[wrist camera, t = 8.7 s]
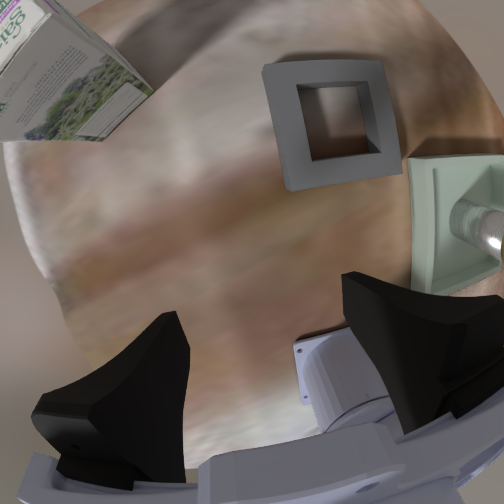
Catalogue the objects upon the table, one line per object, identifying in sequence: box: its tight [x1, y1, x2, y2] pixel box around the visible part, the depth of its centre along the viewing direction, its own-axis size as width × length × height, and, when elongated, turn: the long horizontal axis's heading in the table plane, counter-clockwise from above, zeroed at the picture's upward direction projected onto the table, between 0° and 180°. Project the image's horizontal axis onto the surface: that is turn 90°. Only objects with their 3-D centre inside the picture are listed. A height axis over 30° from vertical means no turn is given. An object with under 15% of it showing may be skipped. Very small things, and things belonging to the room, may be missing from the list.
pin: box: [449, 199, 504, 262], centre depth 18 cm, size 4×4×8 cm
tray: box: [407, 153, 504, 296], centre depth 21 cm, size 13×13×2 cm
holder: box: [262, 59, 403, 192], centre depth 18 cm, size 9×9×2 cm
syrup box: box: [0, 0, 154, 142], centre depth 10 cm, size 6×6×14 cm
